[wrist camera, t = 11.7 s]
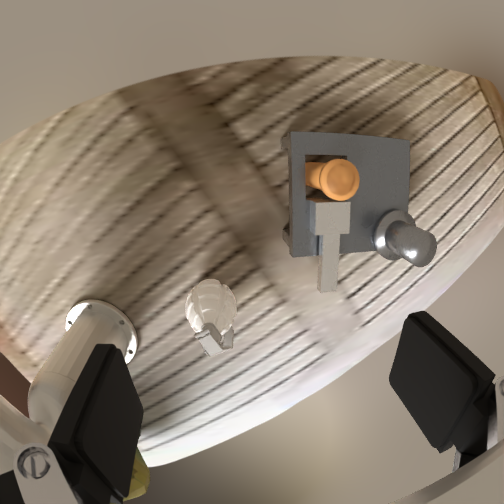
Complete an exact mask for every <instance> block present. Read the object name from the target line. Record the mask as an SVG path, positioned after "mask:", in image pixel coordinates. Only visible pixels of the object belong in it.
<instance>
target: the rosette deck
mask: <svg viewBox="0 0 504 504" xmlns="http://www.w3.org/2000/svg"><path fill="white" fill-rule="evenodd" d="M281 149H288V164H289V226H290V229H283V240H284V241H285V242H286V244H287V245H288V246H289V247H290V255H291V256H292V257H305V256H317V255H319V266H318V286H317V289H318V290H319V291H320V293H323V292H332V291H336V289H337V277H338V263H339V254H342V253H354V252H366V251H377V252H378V253H379V254H380V255H381V256H383V257H384V258H386V259H388V260H398V259H400V258H404V259H405V260H407V261H409V262H410V263H412V264H413V265H415V266H417V267H424V266H426V265H428V264H429V263H430V262H431V261H432V259H433V258H434V256H435V253H436V249H437V242H436V238H435V237H434V235H433V234H432V233H430V232H427V231H425V230H423V229H420V228H418V227H416V224H415V221H414V219H413V218H412V216H411V215H410V214H408V202H409V180H410V141H409V140H402V139H394V138H386V137H377V136H367V135H355V134H341V133H323V132H288V136H286V137H283V138H281ZM305 155H342V159H344V160H347V161H349V162H351V163H352V164H353V165H354V166H355V167H356V169H357V171H358V173H359V179H360V181H359V187H358V189H357V191H356V193H355V194H354V195H353V196H352V197H351V198H349V199H347V200H343V201H338V200H334V199H332V198H306V176H305Z"/></svg>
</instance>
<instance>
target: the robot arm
mask: <svg viewBox="0 0 504 504" xmlns="http://www.w3.org/2000/svg"><path fill="white" fill-rule="evenodd" d="M66 331H67V332H66V333H65V335H64V336H63V337H62V339H61V340H60V342H59V343H58V344H57V346H56V347H55V349H54V350H53V352H52V353H51V355H50V356H49V358H48V359H47V360H46V362H45V363H44V365H43V367H42V368H41V370H40V371H39V373H38V374H37V376H36V377H35V379H34V381H33V382H32V384H31V386H30V389H29V394H28V410H29V416H30V419H29V418H27V417H26V416H24V415H23V414H22V413H21V412H20V411H18V410H17V409H16V408H15V407H13V406H12V405H11V404H10V403H9V402H8V401H7V400H6V399H5V398H4V397H2V396H1V395H0V504H110V503H115V504H123V498H127V497H128V495H129V490H130V484H131V477H132V471H133V465H134V460H135V454H136V449H137V443H138V438H139V433H140V428H141V423H142V418H143V407H142V404H141V402H140V399H139V397H138V394H137V392H136V389H135V387H134V384H133V382H132V379H131V376H130V373H129V371H128V368H127V365H126V364H127V363H129V362H130V361H131V360H132V359H133V357H134V355H135V353H136V350H137V346H138V338H137V334H136V331H135V329H134V327H133V325H132V323H131V322H130V320H129V319H128V318H127V317H126V316H125V314H124V313H123V312H121V311H120V310H119V309H118V308H116V307H114V306H113V305H111V304H109V303H106V302H104V301H100V300H92V299H89V300H83V301H81V302H79V303H77V304H76V305H75V306H73V308H72V309H71V310H70V311H69V313H68V315H67V318H66ZM494 377H495V374H494V373H493V372H492V371H491V370H490V369H489V368H488V367H487V366H486V365H485V364H484V363H483V362H482V361H481V360H480V359H479V358H477V357H476V356H475V355H474V354H473V353H472V352H471V351H470V350H469V349H468V348H467V347H466V346H464V345H463V344H462V343H461V342H460V341H459V340H458V339H457V338H456V337H455V336H453V335H452V334H451V333H450V332H449V331H448V330H447V329H446V328H444V327H443V326H442V325H441V324H440V323H439V322H438V321H436V320H435V319H434V318H433V317H432V316H430V315H429V314H428V313H427V312H425V311H419V312H415V313H411V314H409V315H408V317H407V319H405V321H404V324H403V328H402V333H401V337H400V341H399V345H398V348H397V352H396V356H395V359H394V362H393V366H392V369H391V372H390V375H389V382H390V385H391V386H392V388H393V389H394V391H395V392H396V394H397V395H398V396H399V398H400V399H401V401H402V402H403V404H404V405H405V407H406V408H407V410H408V411H409V413H410V414H411V416H412V417H413V418H414V420H415V421H416V423H417V424H418V426H419V427H420V429H421V430H422V432H423V434H424V435H425V436H426V438H427V440H428V441H429V443H430V444H431V446H433V447H434V448H437V450H438V451H439V453H442V452H444V451H446V450H448V449H449V448H451V447H452V446H453V444H454V445H455V447H456V453H455V459H454V466H453V470H452V473H451V474H449V475H447V476H446V477H444V478H442V479H440V480H439V481H437V482H435V483H433V484H431V485H429V486H427V487H425V488H423V489H421V490H419V491H417V492H415V493H412V494H410V495H408V496H406V497H404V498H401V499H399V500H397V501H394V502H392V503H389V504H504V376H502V377H500V378H499V379H498V380H497V381H496V383H495V385H494V384H493V383H492V381H493V379H494Z"/></svg>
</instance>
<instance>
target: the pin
mask: <svg viewBox="0 0 504 504" xmlns="http://www.w3.org/2000/svg"><path fill="white" fill-rule="evenodd" d="M305 176H306V185H307V186H310V187H313V188H316V189H319V190H322V191H323V192H324V194H325V195H326V196H328V197H329V198H332V199H334V200H338V201H343V200H347V199H349V198H351V197H352V196H353V195H354V194H355V193H356V191H357V189H358V187H359V181H360V179H359V173H358V171H357V169H356V167H355V166H354V165H353V164H352V163H351V162H349V161H347V160H344V159H333V160H330V161H328V162H327V163H319V162H306V163H305Z"/></svg>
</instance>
